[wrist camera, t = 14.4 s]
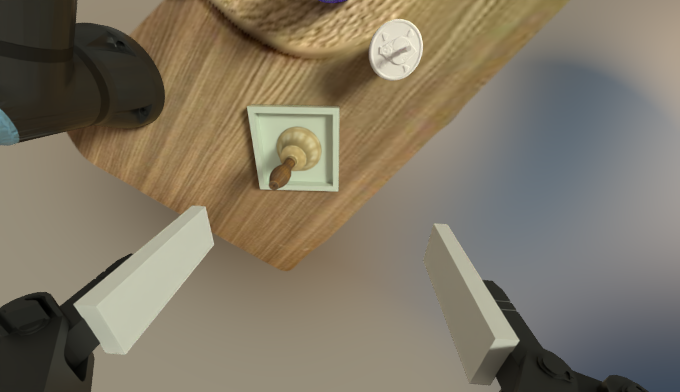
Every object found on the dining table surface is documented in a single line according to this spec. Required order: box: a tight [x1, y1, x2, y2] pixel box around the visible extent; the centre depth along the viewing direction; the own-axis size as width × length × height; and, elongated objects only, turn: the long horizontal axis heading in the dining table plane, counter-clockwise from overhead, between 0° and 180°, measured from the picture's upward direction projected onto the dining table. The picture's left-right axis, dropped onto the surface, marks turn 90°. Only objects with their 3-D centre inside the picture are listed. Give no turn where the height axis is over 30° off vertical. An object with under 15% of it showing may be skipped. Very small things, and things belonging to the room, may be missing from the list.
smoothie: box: [369, 19, 423, 81], centre depth 31 cm, size 6×6×14 cm
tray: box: [247, 104, 340, 191], centre depth 43 cm, size 15×15×2 cm
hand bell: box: [269, 127, 322, 190], centre depth 37 cm, size 8×8×16 cm
